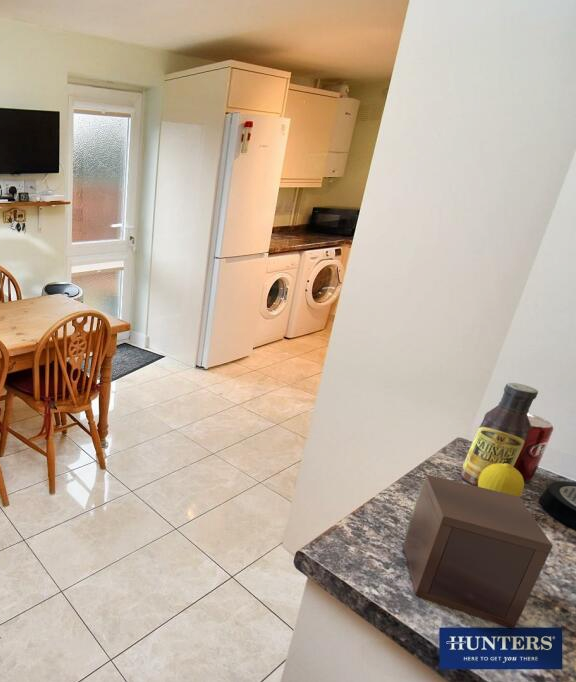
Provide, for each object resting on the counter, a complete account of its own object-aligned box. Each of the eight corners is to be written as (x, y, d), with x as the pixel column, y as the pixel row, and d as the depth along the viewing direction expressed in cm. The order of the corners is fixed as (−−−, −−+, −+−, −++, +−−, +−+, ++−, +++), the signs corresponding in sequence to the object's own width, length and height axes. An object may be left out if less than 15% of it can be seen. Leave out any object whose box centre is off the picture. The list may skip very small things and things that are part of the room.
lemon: (511, 518, 74) (528, 477, 72) (469, 501, 78) (483, 462, 76) (516, 504, 78) (533, 465, 75) (475, 489, 82) (489, 451, 79)
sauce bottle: (456, 480, 84) (491, 384, 78) (462, 468, 88) (495, 375, 82) (503, 497, 80) (544, 397, 73) (507, 483, 84) (545, 387, 77)
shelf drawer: (403, 529, 70) (420, 477, 67) (482, 552, 65) (504, 498, 62) (417, 580, 60) (437, 523, 57) (511, 611, 56) (538, 551, 53)
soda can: (524, 469, 88) (546, 415, 84) (537, 489, 82) (562, 432, 78) (476, 458, 92) (495, 406, 88) (486, 476, 86) (506, 421, 82)
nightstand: (402, 546, 68) (426, 474, 64) (487, 572, 63) (519, 496, 59) (415, 595, 59) (443, 515, 55) (514, 629, 55) (553, 545, 51)
